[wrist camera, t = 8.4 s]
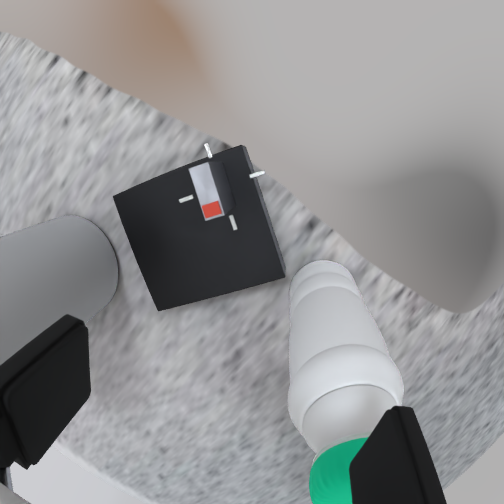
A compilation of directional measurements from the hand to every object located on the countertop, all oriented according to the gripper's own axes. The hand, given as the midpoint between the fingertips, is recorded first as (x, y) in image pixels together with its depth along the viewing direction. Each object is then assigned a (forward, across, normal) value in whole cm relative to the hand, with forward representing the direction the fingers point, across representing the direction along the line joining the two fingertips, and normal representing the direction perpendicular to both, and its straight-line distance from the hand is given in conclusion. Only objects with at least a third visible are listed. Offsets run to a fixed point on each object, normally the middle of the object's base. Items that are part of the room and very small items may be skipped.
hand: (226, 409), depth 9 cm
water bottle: (+26, -6, +5) cm, 27 cm away
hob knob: (+22, +6, -3) cm, 23 cm away
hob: (+25, +7, +2) cm, 26 cm away
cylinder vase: (+25, +22, +10) cm, 35 cm away
